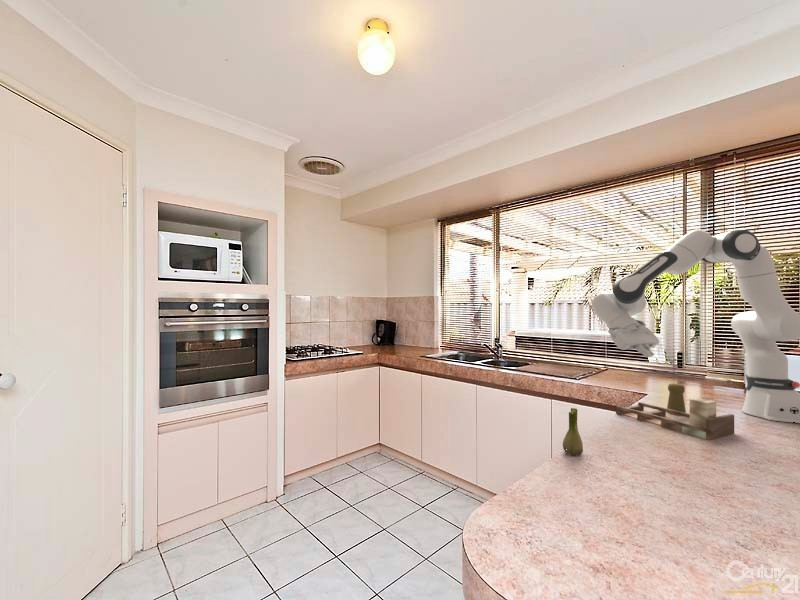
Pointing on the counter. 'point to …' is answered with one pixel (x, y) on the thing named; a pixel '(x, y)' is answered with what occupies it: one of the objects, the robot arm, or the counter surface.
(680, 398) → the cork
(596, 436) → the counter surface
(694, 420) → the birch block
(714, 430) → the trap box
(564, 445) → the fennel bulb
